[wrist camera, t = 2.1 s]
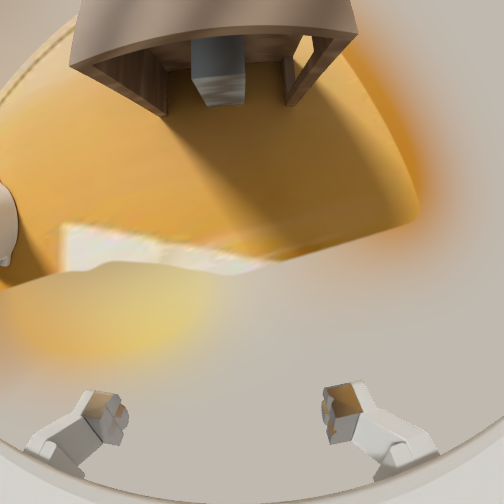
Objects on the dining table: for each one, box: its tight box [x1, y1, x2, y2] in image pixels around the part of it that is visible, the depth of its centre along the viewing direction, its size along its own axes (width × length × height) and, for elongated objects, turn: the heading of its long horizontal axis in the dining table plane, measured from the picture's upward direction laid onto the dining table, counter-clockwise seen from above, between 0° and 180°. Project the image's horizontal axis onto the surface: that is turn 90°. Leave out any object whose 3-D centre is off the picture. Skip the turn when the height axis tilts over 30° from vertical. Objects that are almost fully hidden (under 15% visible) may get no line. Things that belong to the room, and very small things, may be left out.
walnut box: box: [69, 0, 358, 117], centre depth 21 cm, size 18×8×22 cm, turn 93°
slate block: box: [191, 35, 246, 107], centre depth 26 cm, size 5×5×12 cm
